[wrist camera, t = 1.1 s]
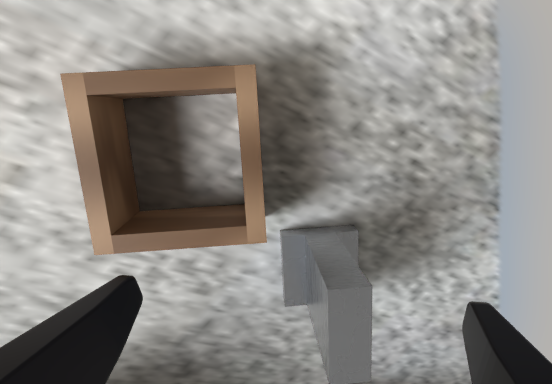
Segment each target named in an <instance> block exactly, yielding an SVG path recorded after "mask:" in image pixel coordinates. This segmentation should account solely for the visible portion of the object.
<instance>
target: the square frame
mask: <svg viewBox="0 0 552 384" xmlns="http://www.w3.org/2000/svg"><path fill="white" fill-rule="evenodd" d="M61 80H62V85H63V90H64V96H65V101H66V106H67V112H68V117H69V122H70V127H71V133H72V138H73V143H74V149H75V154H76V159H77V164H78V170H79V175H80V180H81V186H82V191H83V196H84V202H85V207H86V212H87V217H88V223H89V228H90V233H91V239H92V244H93V249H94V255H102V254H116V253H129V252H143V251H157V250H171V249H184V248H198V247H212V246H226V245H239V244H253V243H267V240H266V225H265V209H264V193H263V177H262V161H261V146H260V130H259V114H258V98H257V82H256V67H255V64H254V65H233V66H212V67H191V68H170V69H149V70H128V71H107V72H86V73H65V74H61ZM229 93H236V95H237V108H238V121H239V134H240V147H241V160H242V173H243V186H244V199H245V204H239V205H224V206H209V207H194V208H179V209H164V210H150V211H140V210H139V204H138V197H137V190H136V184H135V177H134V171H133V164H132V157H131V151H130V144H129V137H128V131H127V124H126V118H125V111H124V104H123V99H132V98H151V97H171V96H190V95H210V94H229Z"/></svg>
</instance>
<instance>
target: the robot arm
mask: <svg viewBox="0 0 552 384" xmlns="http://www.w3.org/2000/svg"><path fill="white" fill-rule="evenodd" d="M142 301H143V296H142V293H141V290H140V288H139V286H138V283H137V281H136V279H135V278H134V277H133V276H127V275H120V276H118V277H116V278H114V279H113V280H111V281H109V282H108V283H106V284H104V285H103V286H101V287H99V288H98V289H96V290H95V291H93V292H91V293H90V294H88V295H86V296H85V297H83V298H81V299H80V300H78V301H76V302H75V303H73V304H71V305H70V306H68V307H66V308H65V309H63V310H62V311H60V312H58V313H57V314H55V315H53V316H52V317H50V318H48V319H47V320H45V321H43V322H42V323H40V324H38V325H37V326H35V327H33V328H32V329H30V330H29V331H27V332H25V333H24V334H22V335H20V336H19V337H17V338H15V339H14V340H12V341H10V342H9V343H7V344H5V345H4V346H2V347H0V384H105V383H106V382H107V380H108V378H109V376H110V374H111V372H112V370H113V368H114V366H115V364H116V363H117V361H118V359H119V357H120V355H121V353H122V350H123V348H124V346H125V343H126V341H127V339H128V336H129V334H130V331H131V329H132V326H133V324H134V322H135V319H136V317H137V314H138V312H139V309H140V307H141V305H142ZM462 331H463V338H464V343H465V349H466V354H467V359H468V365H469V370H470V375H471V381H472V384H552V363H551V362H549V361H548V360H547V359H546V358H545V357H544V356H543V355H542V354H541V353H540V352H539V351H538V350H537V349H536V348H535V347H534V346H533V345H532V344H531V343H530V342H529V341H528V340H527V339H525V337H524V336H523V335H522V334H521V333H520V332H519V331H517V330H516V329H515V328H514V327H513V326H512V325H511V324H510V323H509V322H508V321H507V320H506V319H505V318H504V317H503V316H502V315H501V314H500V313H499V312H498V311H497V310H496V309H495V308H494V307H493V306H492V305H490V304H489V303H486V302H474V301H471V302H469V303H468V305H467V308H466V312H465V316H464V321H463V326H462Z"/></svg>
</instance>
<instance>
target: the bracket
mask: <svg viewBox="0 0 552 384" xmlns="http://www.w3.org/2000/svg"><path fill="white" fill-rule="evenodd" d="M280 240H281V258H282V277H283V296H284V303H285V306H297V305H307V306H308V310H309V313H310V317H311V320H312V324H313V328H314V331H315V335H316V338H317V342H318V346H319V349H320V353H321V356H322V360H323V364H324V367H325V371H326V374H327V378H328V382H329V384H352V383H362V382H371V345H372V285H371V284H370V283H369V281H368V280H367V278H366V277H365V275H364V274H363V272H362V271H361V269H360V268H359V266H358V230H357V229H356V228H355V227H354V225H348V226H334V227H320V228H306V229H291V230H280Z"/></svg>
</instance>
